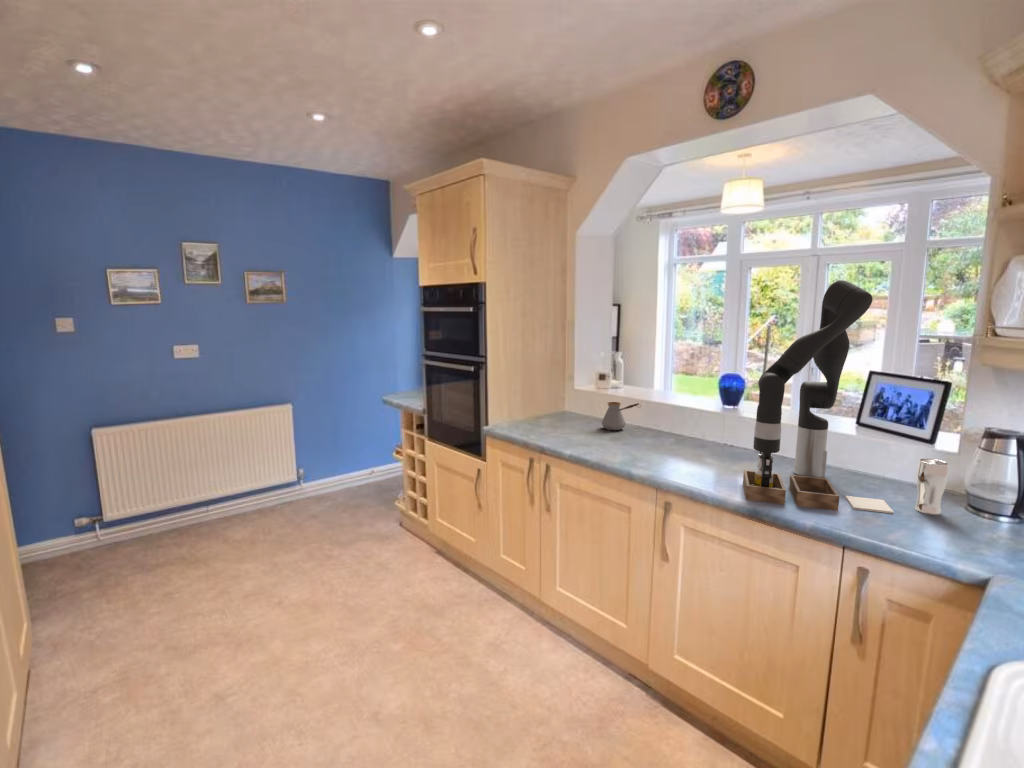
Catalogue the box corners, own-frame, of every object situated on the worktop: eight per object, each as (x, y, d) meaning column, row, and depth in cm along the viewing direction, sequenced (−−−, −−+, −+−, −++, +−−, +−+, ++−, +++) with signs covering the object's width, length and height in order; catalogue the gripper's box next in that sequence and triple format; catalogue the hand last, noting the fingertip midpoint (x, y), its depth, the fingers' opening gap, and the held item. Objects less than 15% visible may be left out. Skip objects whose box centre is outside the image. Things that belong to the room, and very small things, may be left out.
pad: (883, 501, 162) (883, 499, 162) (893, 513, 153) (893, 511, 153) (845, 497, 165) (845, 495, 165) (853, 508, 156) (853, 507, 156)
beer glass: (913, 504, 160) (919, 456, 157) (942, 510, 155) (949, 461, 153) (912, 511, 154) (917, 462, 152) (942, 517, 150) (949, 466, 148)
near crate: (826, 492, 170) (827, 478, 170) (837, 510, 155) (839, 496, 154) (789, 488, 174) (790, 474, 173) (796, 505, 158) (797, 491, 158)
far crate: (778, 486, 175) (779, 473, 174) (784, 504, 160) (785, 490, 159) (742, 482, 179) (743, 470, 178) (745, 499, 163) (746, 485, 163)
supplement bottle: (775, 496, 167) (777, 466, 165) (757, 496, 167) (760, 466, 165) (767, 490, 172) (769, 461, 170) (750, 490, 172) (752, 461, 170)
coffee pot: (596, 428, 257) (597, 398, 255) (612, 425, 264) (613, 395, 262) (629, 437, 240) (631, 404, 238) (646, 433, 247) (647, 402, 245)
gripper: (783, 442, 158) (779, 494, 161) (777, 431, 172) (774, 480, 174) (756, 439, 161) (752, 491, 163) (752, 429, 174) (749, 477, 177)
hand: (763, 485), depth 169 cm, fingers open, 7 cm apart
